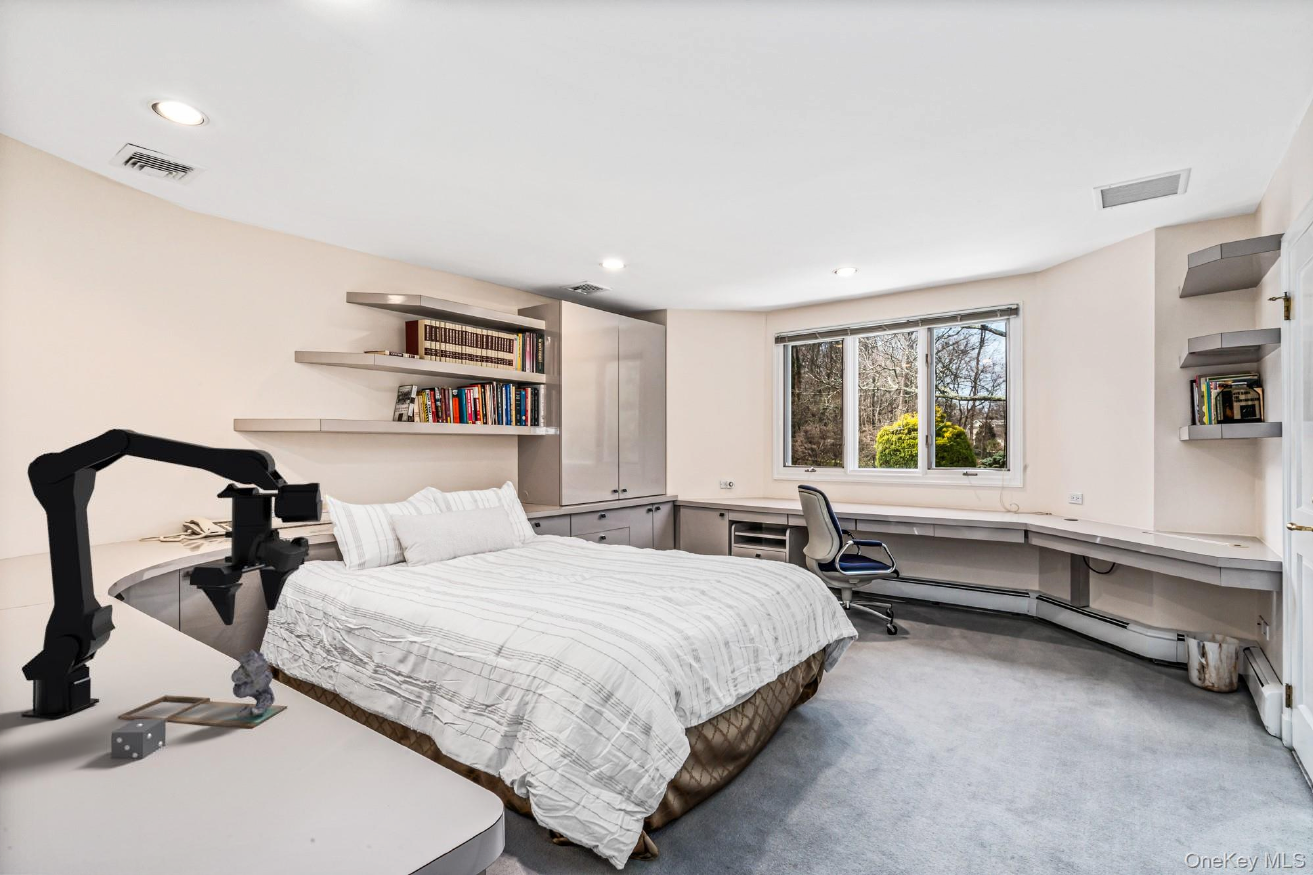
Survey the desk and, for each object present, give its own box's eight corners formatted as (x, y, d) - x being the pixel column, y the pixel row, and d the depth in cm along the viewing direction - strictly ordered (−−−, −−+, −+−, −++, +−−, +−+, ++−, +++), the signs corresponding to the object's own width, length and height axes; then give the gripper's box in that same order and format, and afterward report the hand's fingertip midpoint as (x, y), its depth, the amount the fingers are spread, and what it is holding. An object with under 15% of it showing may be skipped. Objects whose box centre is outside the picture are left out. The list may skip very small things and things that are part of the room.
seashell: (253, 724, 93) (254, 656, 93) (223, 721, 94) (223, 654, 94) (282, 710, 98) (282, 645, 98) (253, 706, 99) (253, 642, 99)
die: (109, 764, 82) (110, 731, 82) (135, 748, 87) (135, 717, 87) (143, 763, 82) (143, 731, 83) (166, 747, 87) (167, 717, 87)
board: (163, 721, 94) (163, 719, 94) (202, 702, 101) (202, 700, 101) (253, 727, 92) (253, 725, 92) (287, 708, 99) (287, 706, 99)
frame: (117, 720, 95) (117, 716, 95) (165, 698, 103) (165, 695, 103) (165, 723, 94) (165, 719, 94) (209, 701, 102) (209, 697, 102)
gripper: (252, 533, 96) (250, 636, 96) (332, 518, 114) (331, 605, 114) (187, 531, 97) (185, 632, 97) (276, 517, 116) (275, 602, 116)
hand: (251, 617), depth 106 cm, fingers open, 9 cm apart
